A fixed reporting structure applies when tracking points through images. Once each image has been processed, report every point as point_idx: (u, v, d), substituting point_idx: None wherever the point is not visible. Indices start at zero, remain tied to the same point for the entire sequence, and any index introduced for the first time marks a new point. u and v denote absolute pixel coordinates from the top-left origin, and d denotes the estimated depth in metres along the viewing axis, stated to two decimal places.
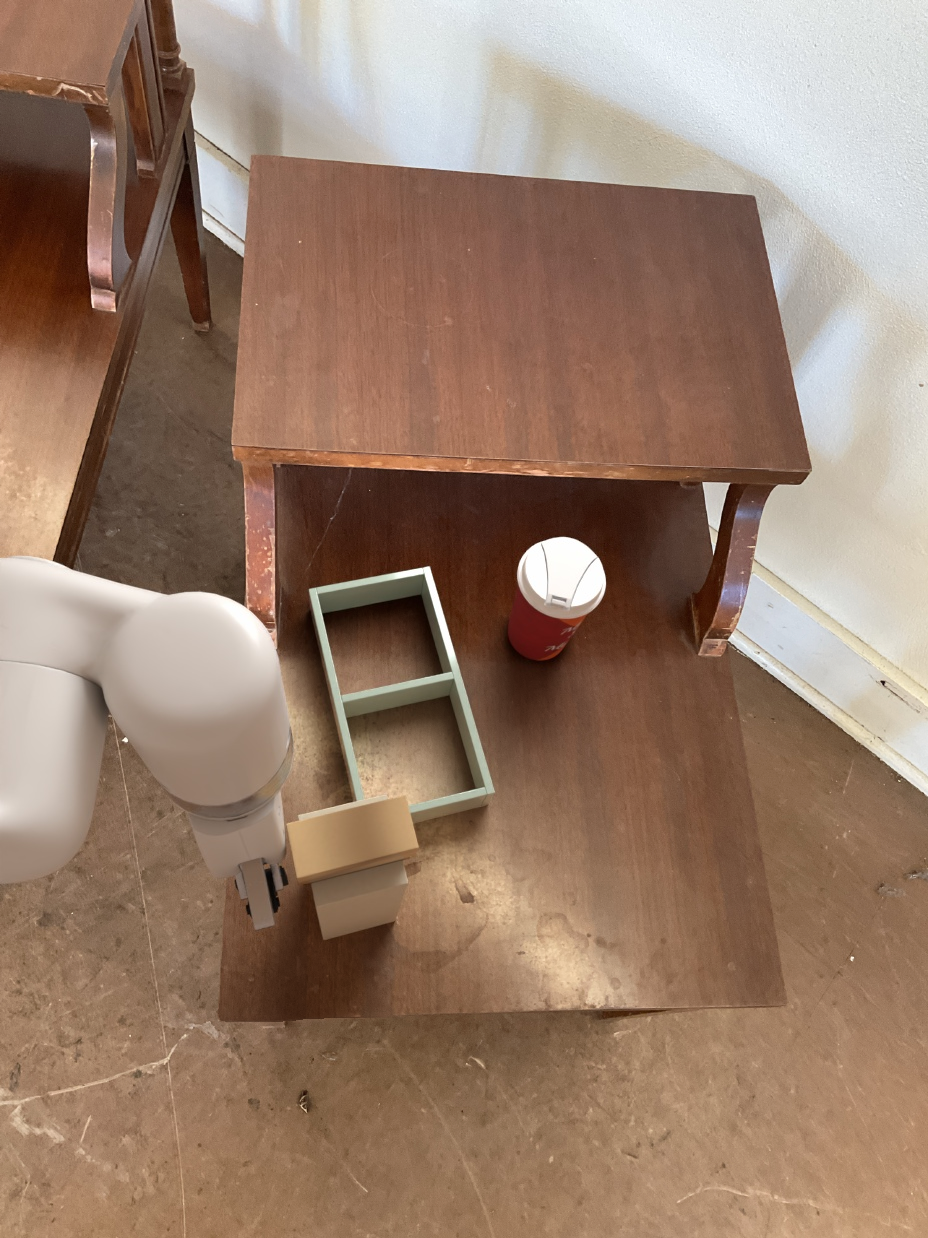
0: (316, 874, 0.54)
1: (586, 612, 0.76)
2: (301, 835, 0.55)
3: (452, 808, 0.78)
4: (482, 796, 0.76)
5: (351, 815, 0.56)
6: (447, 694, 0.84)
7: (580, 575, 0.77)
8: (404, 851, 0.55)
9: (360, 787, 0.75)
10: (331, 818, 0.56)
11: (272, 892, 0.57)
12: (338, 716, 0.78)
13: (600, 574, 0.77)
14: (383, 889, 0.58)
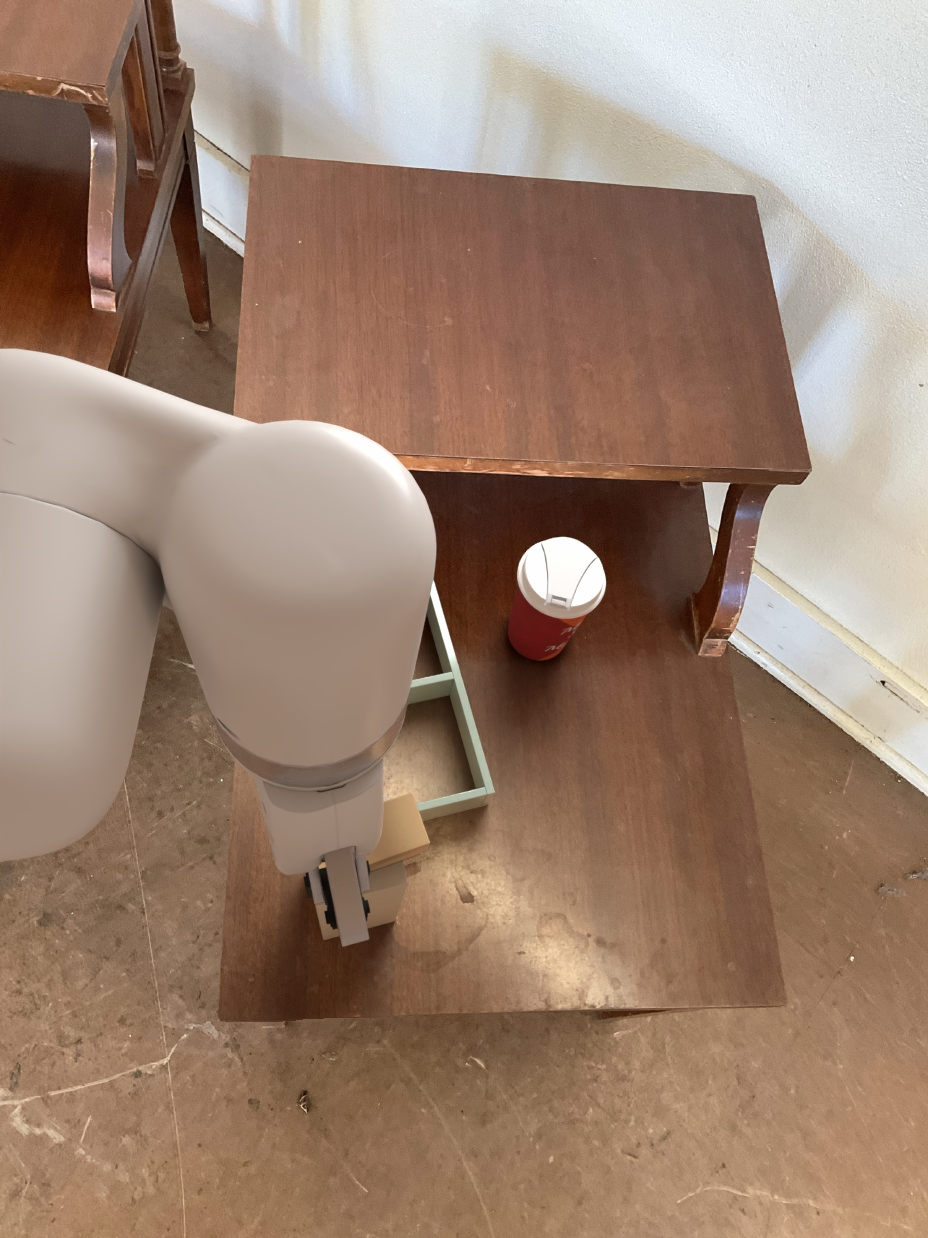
0: None
1: (586, 612, 0.76)
2: None
3: (452, 808, 0.78)
4: (482, 796, 0.76)
5: None
6: (447, 694, 0.84)
7: (580, 575, 0.77)
8: (416, 848, 0.56)
9: None
10: None
11: None
12: None
13: (600, 574, 0.77)
14: (383, 889, 0.58)
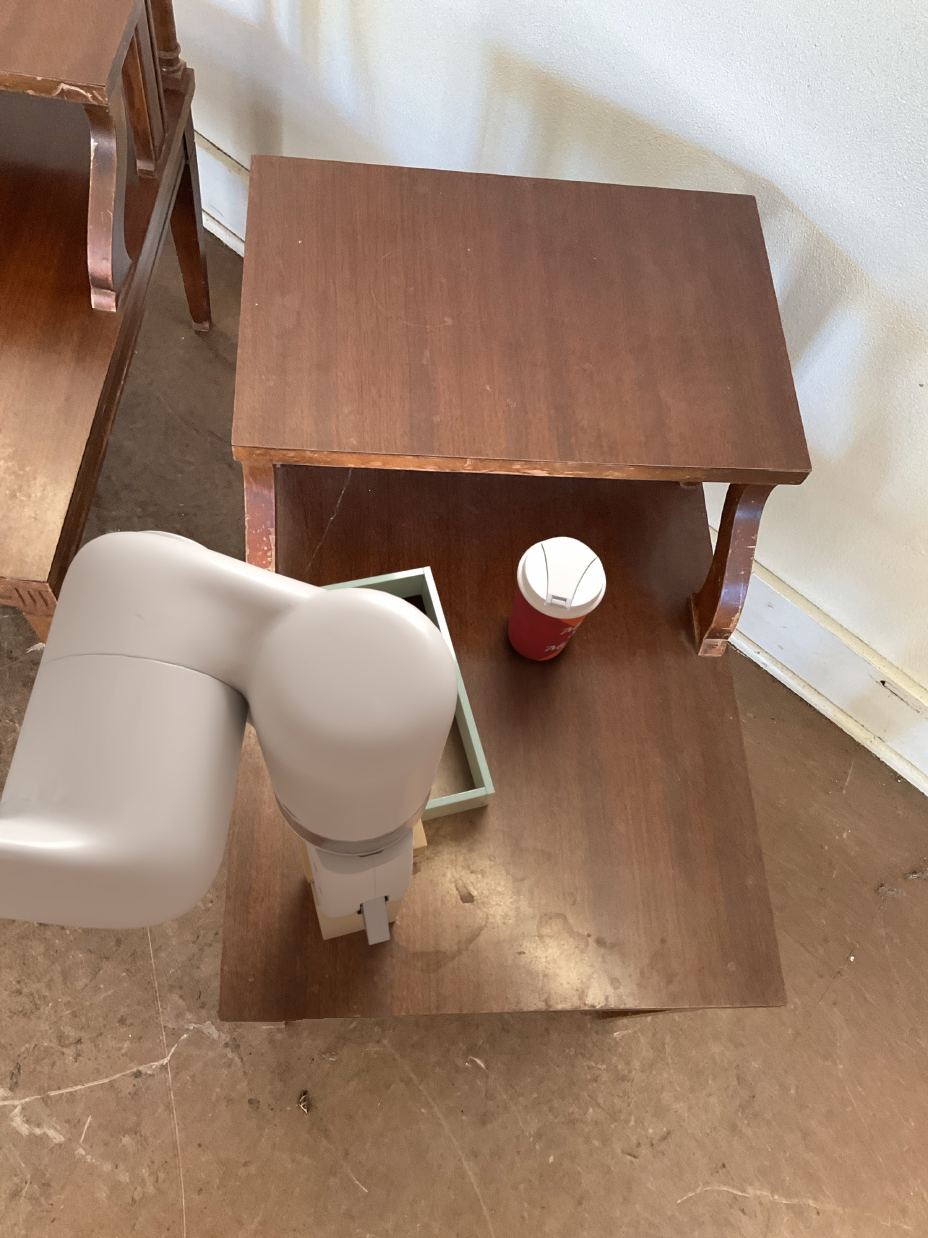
0: None
1: (586, 612, 0.76)
2: None
3: (452, 808, 0.78)
4: (482, 796, 0.76)
5: None
6: None
7: (580, 575, 0.77)
8: (413, 849, 0.55)
9: None
10: None
11: None
12: None
13: (600, 574, 0.77)
14: None
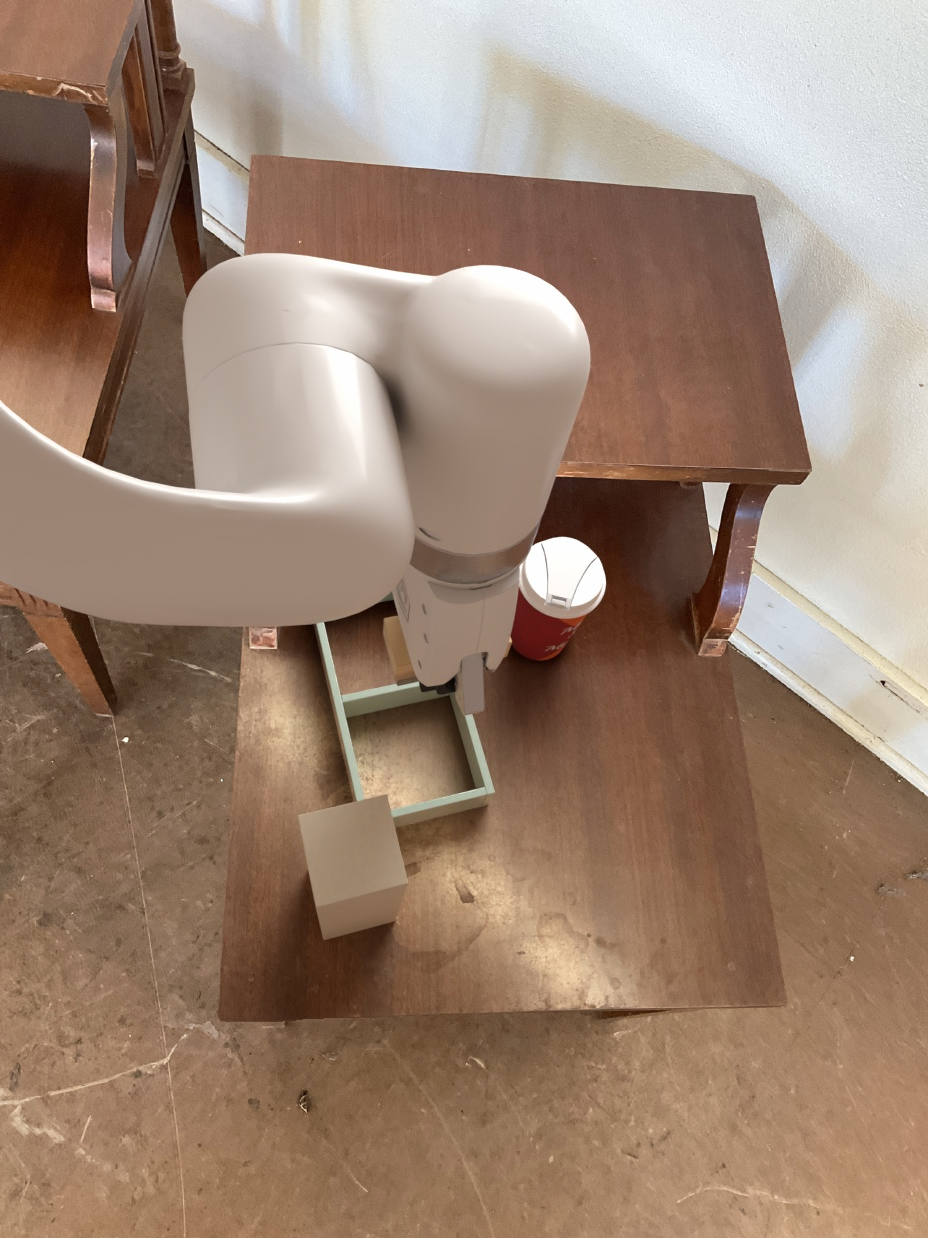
0: None
1: (586, 612, 0.76)
2: (399, 628, 0.57)
3: (452, 808, 0.78)
4: (482, 796, 0.76)
5: None
6: (447, 694, 0.84)
7: (580, 575, 0.77)
8: None
9: (360, 787, 0.75)
10: None
11: None
12: (338, 716, 0.78)
13: (600, 574, 0.77)
14: (383, 889, 0.58)
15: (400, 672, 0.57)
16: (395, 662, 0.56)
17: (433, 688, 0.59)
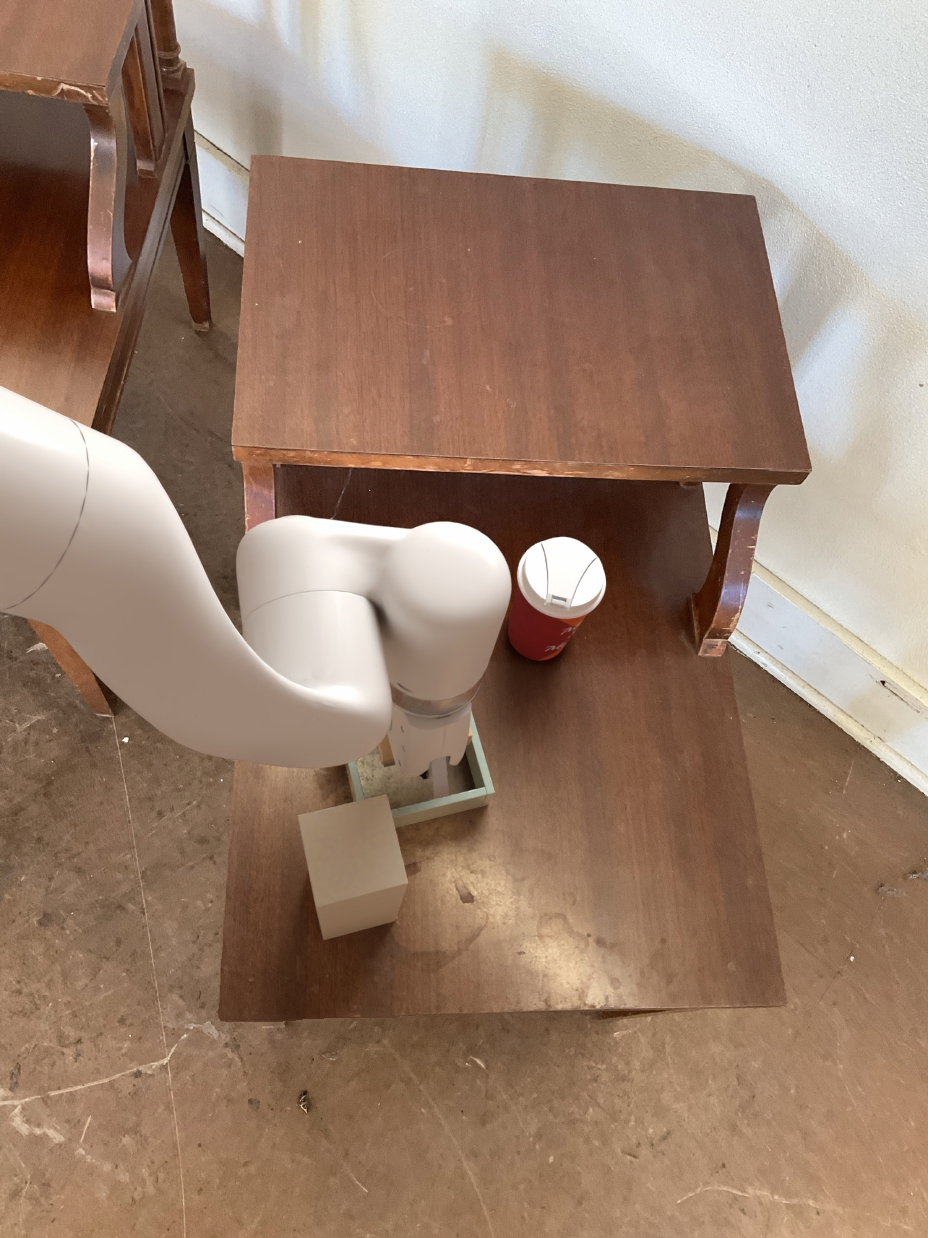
0: None
1: (586, 612, 0.76)
2: None
3: (452, 808, 0.78)
4: (482, 796, 0.76)
5: None
6: None
7: (580, 575, 0.77)
8: None
9: (360, 787, 0.75)
10: None
11: None
12: None
13: (600, 574, 0.77)
14: (383, 889, 0.58)
15: (386, 759, 0.73)
16: (382, 752, 0.72)
17: None
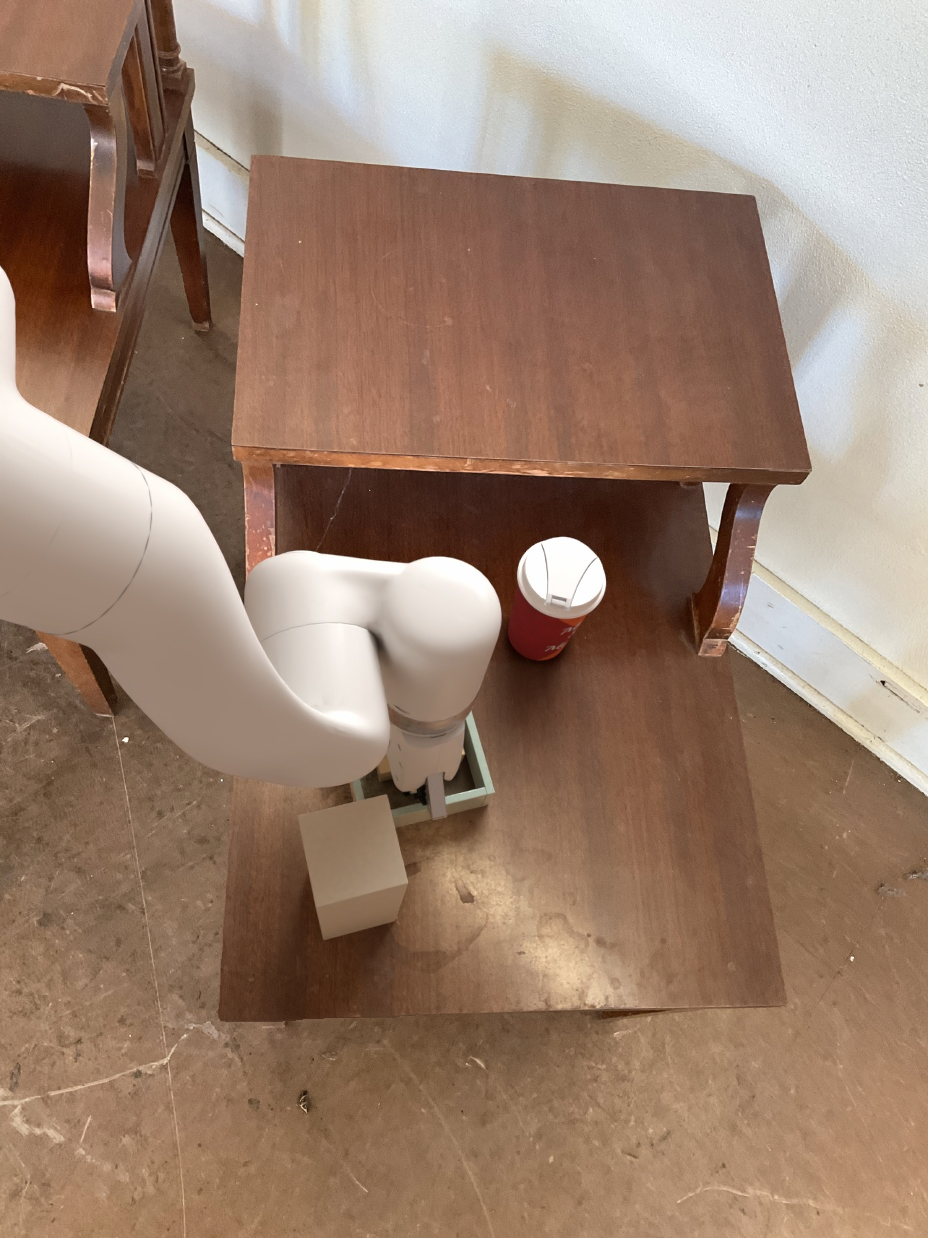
0: None
1: (586, 612, 0.76)
2: None
3: (452, 808, 0.78)
4: (482, 796, 0.76)
5: None
6: None
7: (580, 575, 0.77)
8: None
9: (360, 787, 0.75)
10: None
11: None
12: None
13: (600, 574, 0.77)
14: (383, 889, 0.58)
15: (383, 776, 0.78)
16: (379, 770, 0.77)
17: (411, 793, 0.78)
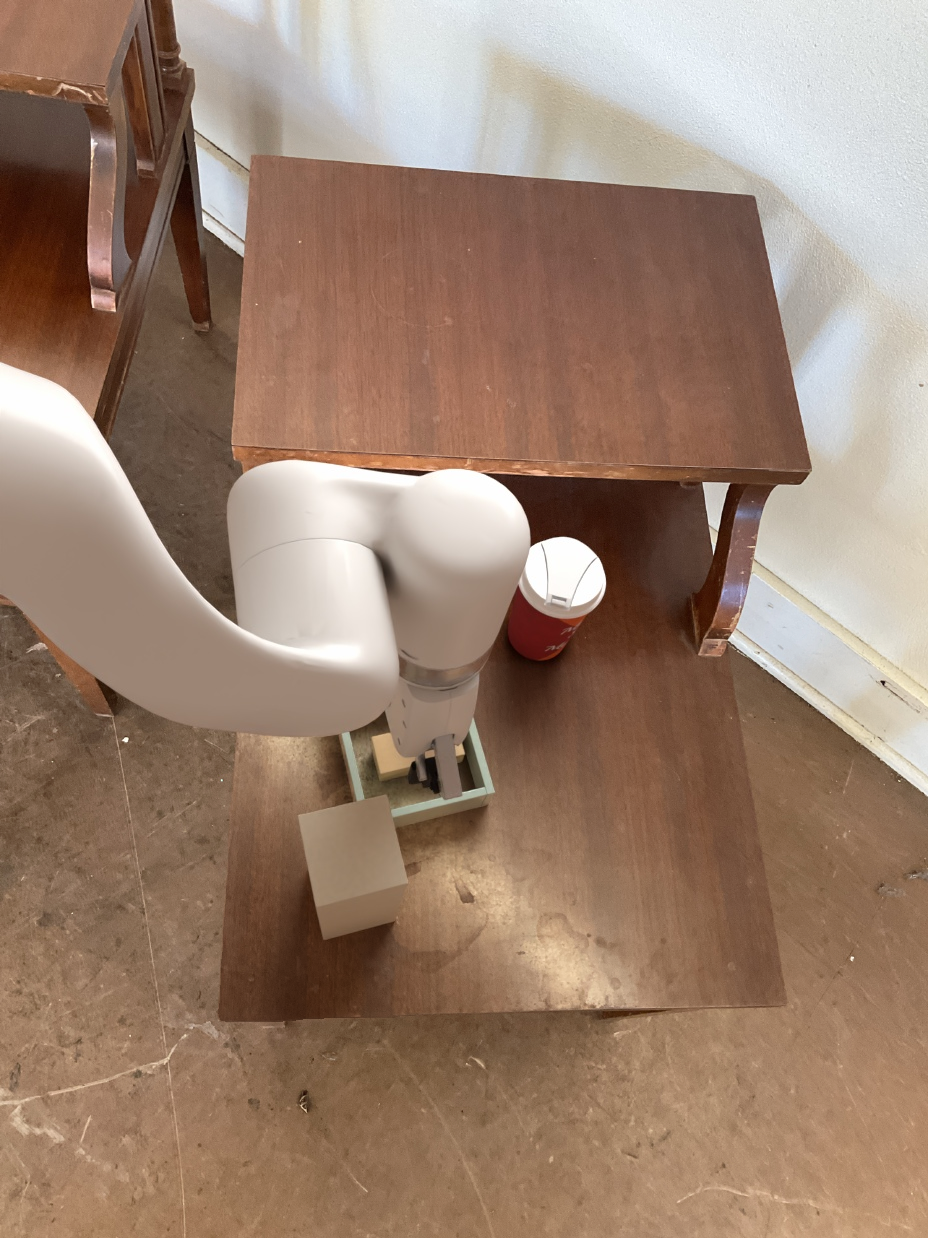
0: (393, 771, 0.77)
1: (586, 612, 0.76)
2: (382, 745, 0.78)
3: (452, 808, 0.78)
4: (482, 796, 0.76)
5: None
6: None
7: (580, 575, 0.77)
8: None
9: (360, 787, 0.75)
10: None
11: None
12: None
13: (600, 574, 0.77)
14: (383, 889, 0.58)
15: (383, 776, 0.78)
16: (379, 770, 0.77)
17: (419, 781, 0.69)
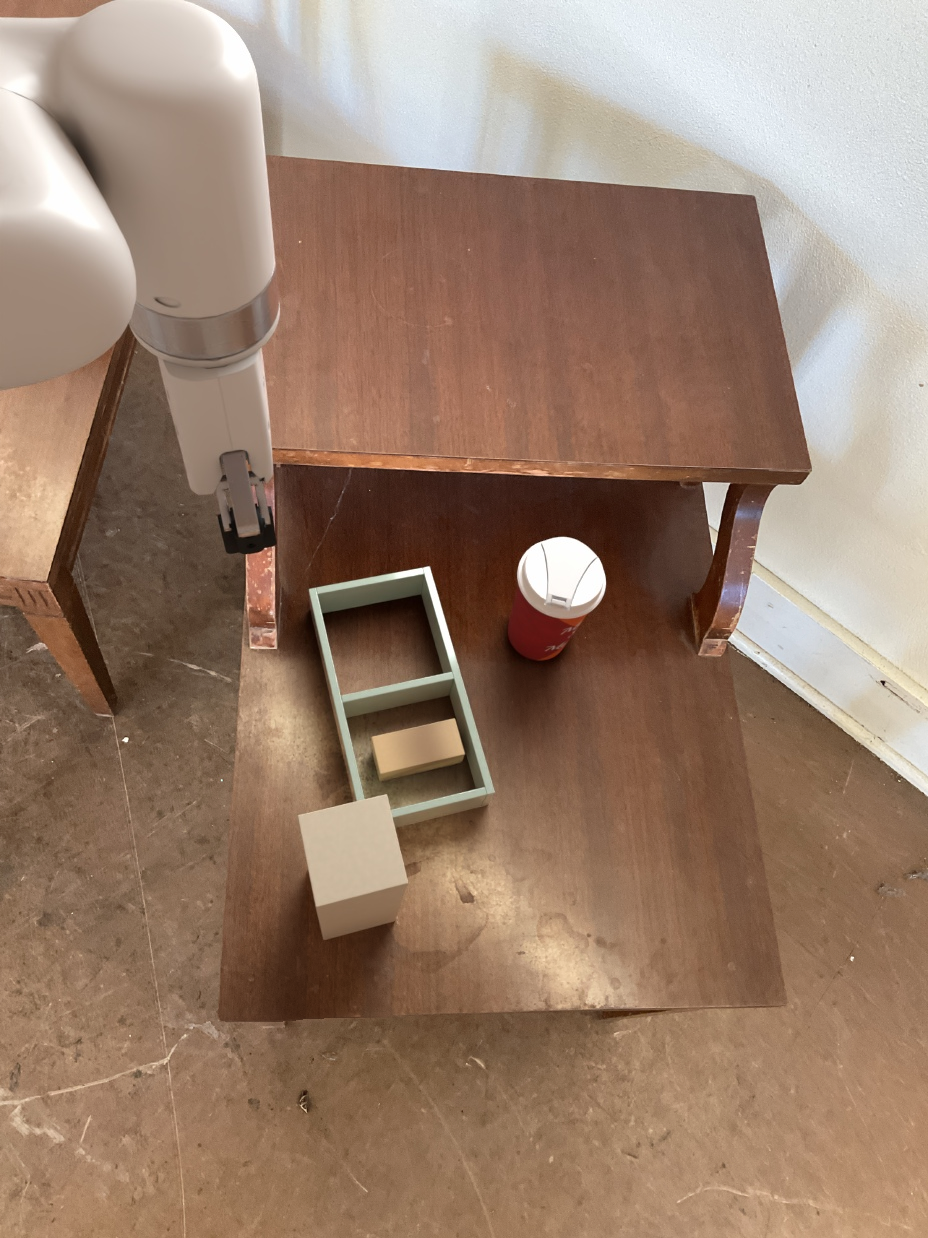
0: (393, 771, 0.77)
1: (586, 612, 0.76)
2: (382, 745, 0.78)
3: (452, 808, 0.78)
4: (482, 796, 0.76)
5: (417, 731, 0.79)
6: (447, 694, 0.84)
7: (580, 575, 0.77)
8: (454, 756, 0.78)
9: (360, 787, 0.75)
10: (403, 733, 0.79)
11: (257, 512, 0.52)
12: (338, 716, 0.78)
13: (600, 574, 0.77)
14: (383, 889, 0.58)
15: (383, 776, 0.78)
16: (379, 770, 0.77)
17: None
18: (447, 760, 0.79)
